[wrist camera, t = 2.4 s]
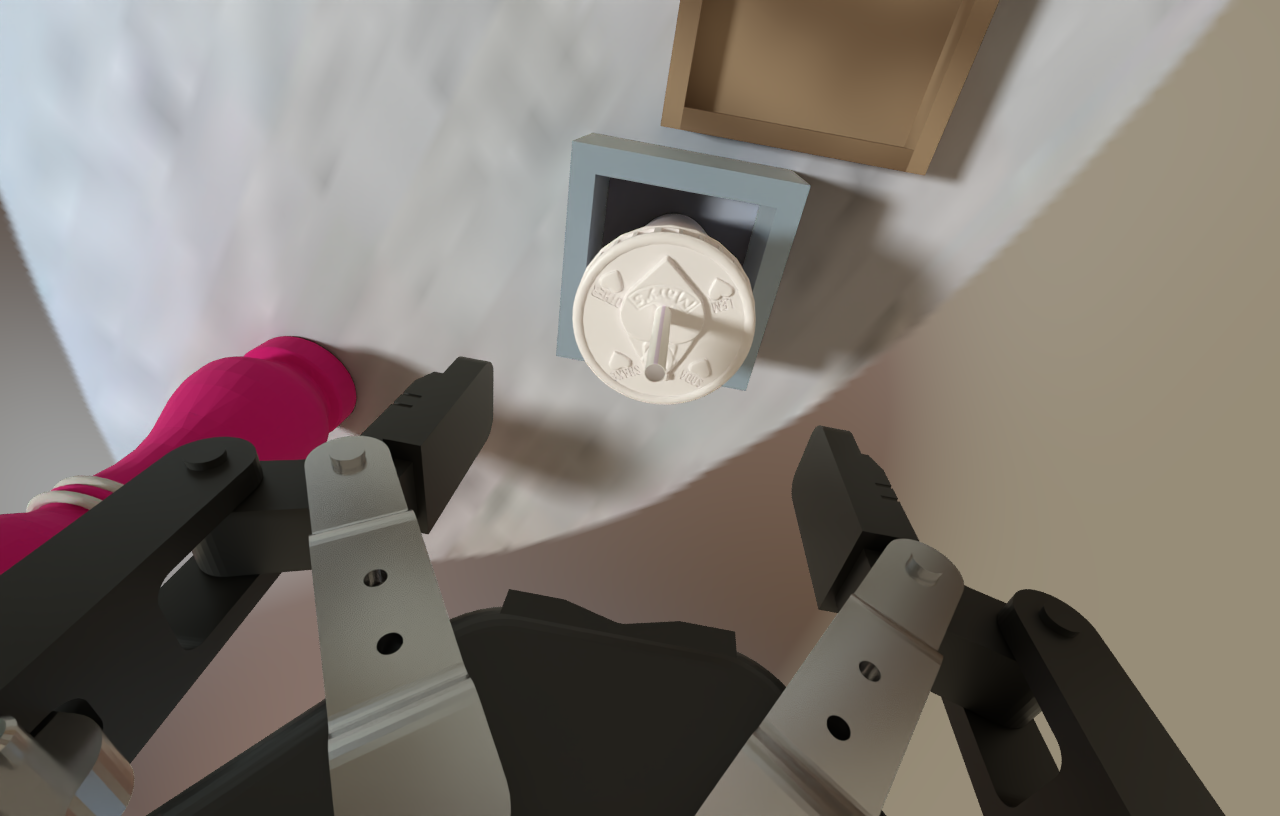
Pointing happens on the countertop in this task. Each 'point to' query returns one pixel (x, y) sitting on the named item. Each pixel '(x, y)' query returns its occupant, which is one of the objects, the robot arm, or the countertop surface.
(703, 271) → the smoothie
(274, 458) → the pepper mill
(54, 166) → the countertop surface
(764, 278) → the holder
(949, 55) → the tray
